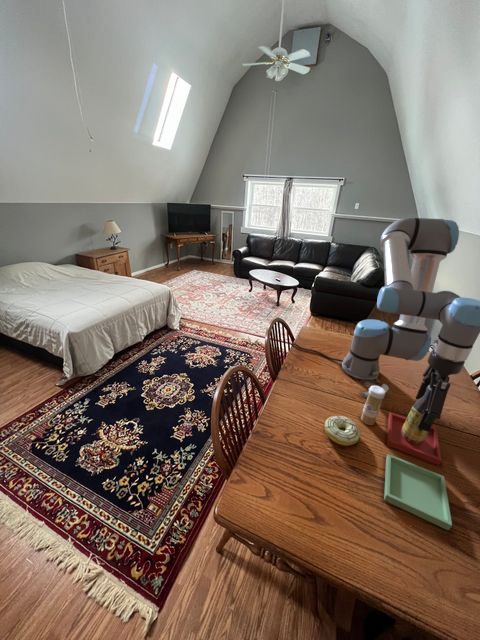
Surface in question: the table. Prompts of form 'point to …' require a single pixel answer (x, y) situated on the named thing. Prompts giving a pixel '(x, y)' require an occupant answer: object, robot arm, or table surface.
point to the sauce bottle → (416, 420)
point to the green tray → (417, 491)
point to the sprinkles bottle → (372, 404)
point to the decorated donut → (339, 436)
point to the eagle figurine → (371, 383)
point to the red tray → (423, 450)
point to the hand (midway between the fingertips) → (421, 413)
